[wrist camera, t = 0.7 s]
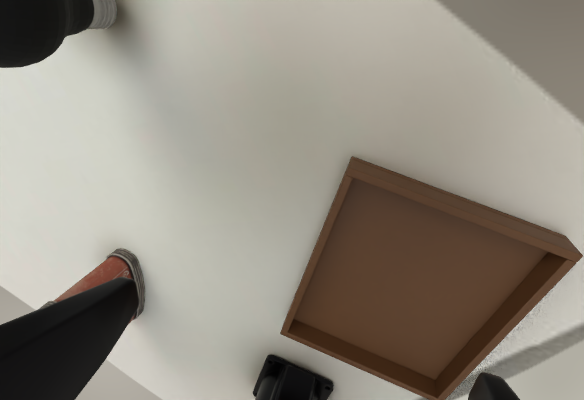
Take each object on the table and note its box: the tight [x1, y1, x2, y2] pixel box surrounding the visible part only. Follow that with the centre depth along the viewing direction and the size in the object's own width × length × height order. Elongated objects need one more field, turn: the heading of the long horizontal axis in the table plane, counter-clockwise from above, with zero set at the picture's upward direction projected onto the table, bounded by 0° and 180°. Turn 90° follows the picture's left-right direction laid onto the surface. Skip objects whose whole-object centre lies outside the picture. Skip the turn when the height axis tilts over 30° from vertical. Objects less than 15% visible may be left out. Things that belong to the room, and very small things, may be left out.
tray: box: [280, 157, 583, 400], centre depth 22 cm, size 15×13×2 cm
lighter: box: [38, 249, 145, 323], centre depth 27 cm, size 8×3×10 cm, turn 171°
